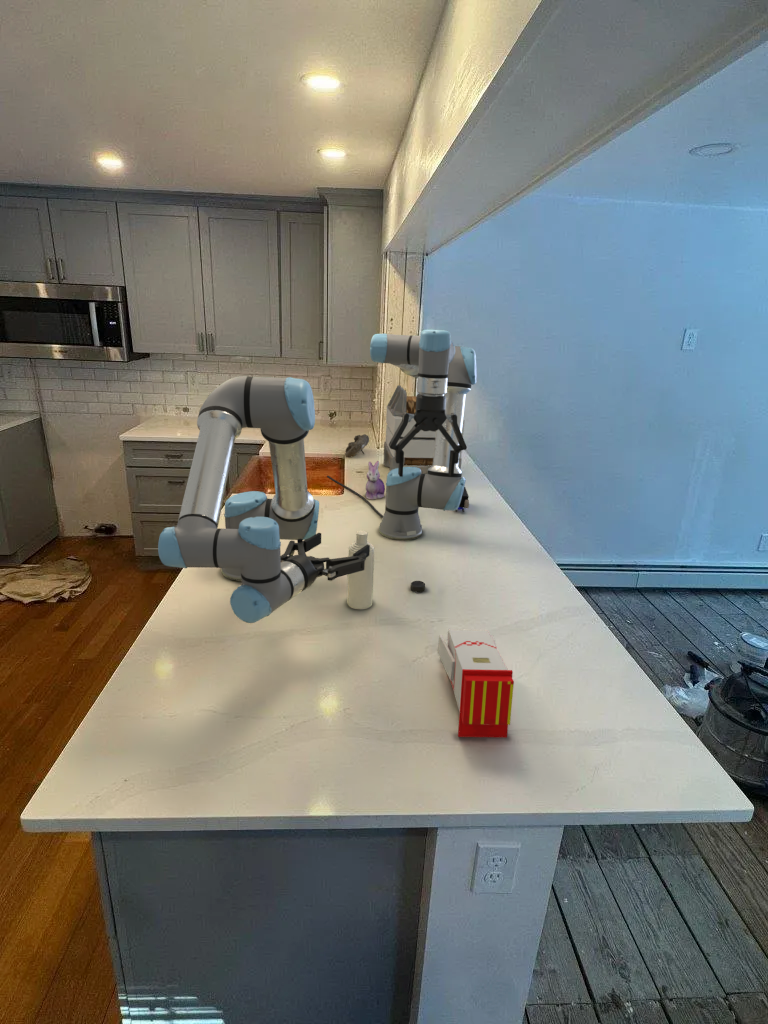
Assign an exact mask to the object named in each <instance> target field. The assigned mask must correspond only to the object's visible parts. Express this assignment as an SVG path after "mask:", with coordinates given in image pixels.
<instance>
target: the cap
mask: <svg viewBox="0 0 768 1024" xmlns="http://www.w3.org/2000/svg"><path fill="white" fill-rule="evenodd" d="M410 590H411V591H412V592H414V593H423V592H425V591H426V583H425V581H422V580H414V581H411V583H410Z"/></svg>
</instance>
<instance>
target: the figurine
mask: <svg viewBox="0 0 768 1024" xmlns="http://www.w3.org/2000/svg"><path fill="white" fill-rule="evenodd" d="M367 465H368V471H367V473H366V478H367V482H366V484H365V491H366V492H365V496H364V497H366V498H365V499H367V500H377V499H378V500H379V499H382V498H384V497H385V493H386V485H385V483H384V481H383V480H382V479H381V473H380V471H379V466H380V461H379V460H377V461H376V462H375V463H374V464H373V462H372V461H368V464H367Z"/></svg>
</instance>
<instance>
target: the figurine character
mask: <svg viewBox="0 0 768 1024" xmlns="http://www.w3.org/2000/svg"><path fill="white" fill-rule="evenodd" d="M469 498H470V496H469V494H468V491H467V488H466V486H464V491H463V495H462V498H461V502H460V505H459V507H458V509H457V510H455V512H456V513H458V510H461V511H462V513H465V509H469V506H470V500H469Z"/></svg>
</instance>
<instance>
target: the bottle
mask: <svg viewBox="0 0 768 1024" xmlns="http://www.w3.org/2000/svg"><path fill="white" fill-rule="evenodd" d="M355 535H356V539H355V540H354V541H353V542H352V543H350V545H349V546H348V556H347V557H351V556H353V554H354V553H355V552H357V551H358V550H360V549H361V548H363V547H364V546H366V545H370V553H369V556H368V557H367V558H366V560H365V570H363V571H359V572H356V573H352V574H348V575H347V597H346V598H347V599H346V600H347V602H346V603H347V606H348V607H349V608H351V609H355V610H366V609H369V608H371V607H372V605H373V597H374V595H373V593H374V569H375V568H374V567H375V547H374V545H373V544H372V543H371V542H370V541H368V536H369V532H367V531H366V530H358V531H356V534H355Z"/></svg>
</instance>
